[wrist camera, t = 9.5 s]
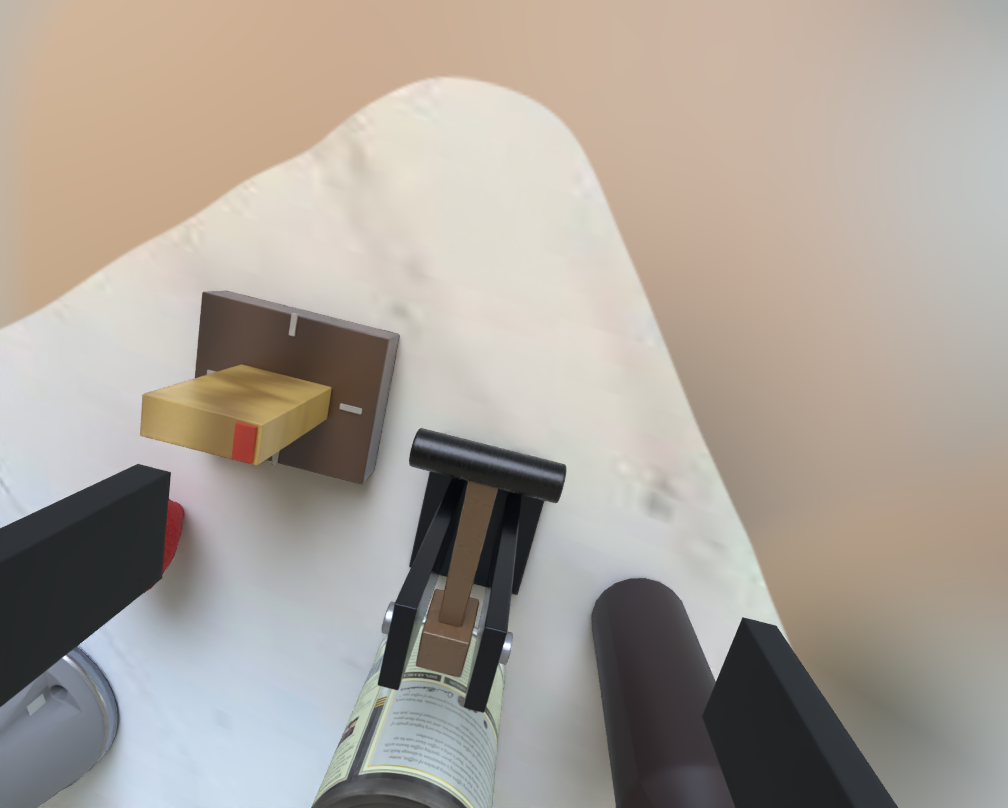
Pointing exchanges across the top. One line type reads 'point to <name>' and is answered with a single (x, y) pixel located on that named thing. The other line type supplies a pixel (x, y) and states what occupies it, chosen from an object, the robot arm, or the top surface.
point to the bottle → (655, 700)
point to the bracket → (494, 571)
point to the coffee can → (416, 743)
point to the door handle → (471, 531)
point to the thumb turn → (235, 412)
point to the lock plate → (308, 373)
